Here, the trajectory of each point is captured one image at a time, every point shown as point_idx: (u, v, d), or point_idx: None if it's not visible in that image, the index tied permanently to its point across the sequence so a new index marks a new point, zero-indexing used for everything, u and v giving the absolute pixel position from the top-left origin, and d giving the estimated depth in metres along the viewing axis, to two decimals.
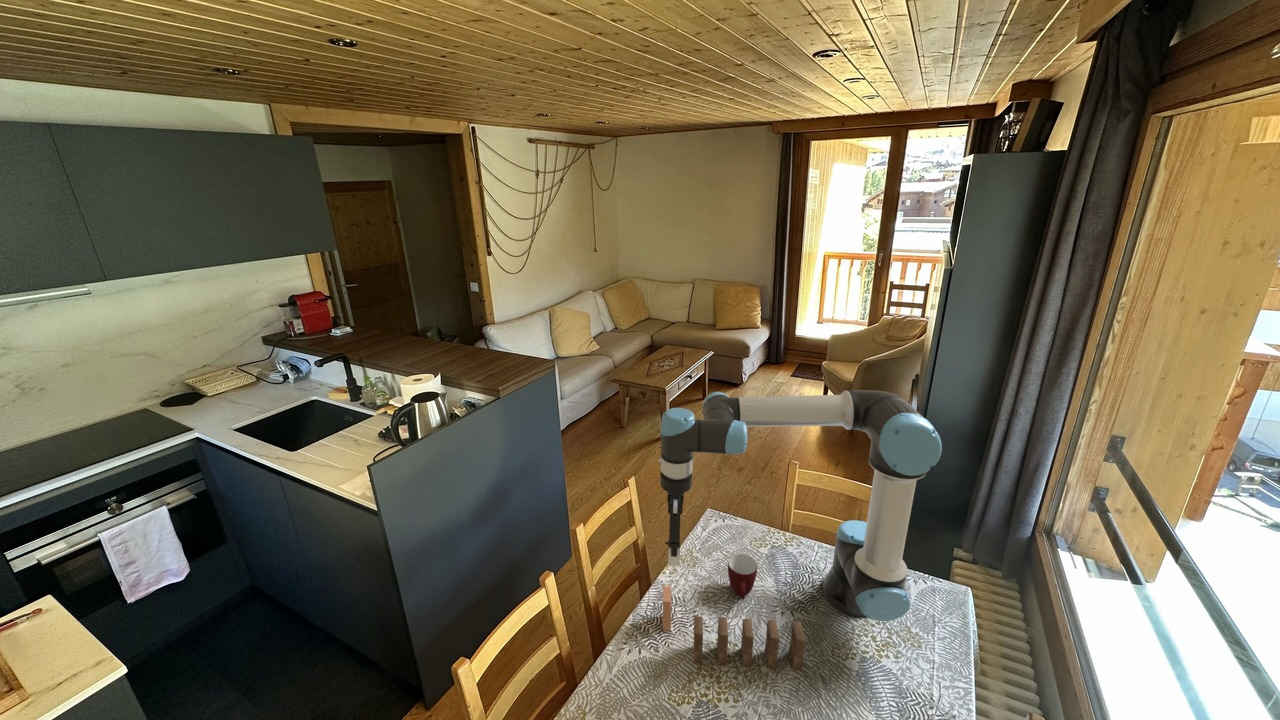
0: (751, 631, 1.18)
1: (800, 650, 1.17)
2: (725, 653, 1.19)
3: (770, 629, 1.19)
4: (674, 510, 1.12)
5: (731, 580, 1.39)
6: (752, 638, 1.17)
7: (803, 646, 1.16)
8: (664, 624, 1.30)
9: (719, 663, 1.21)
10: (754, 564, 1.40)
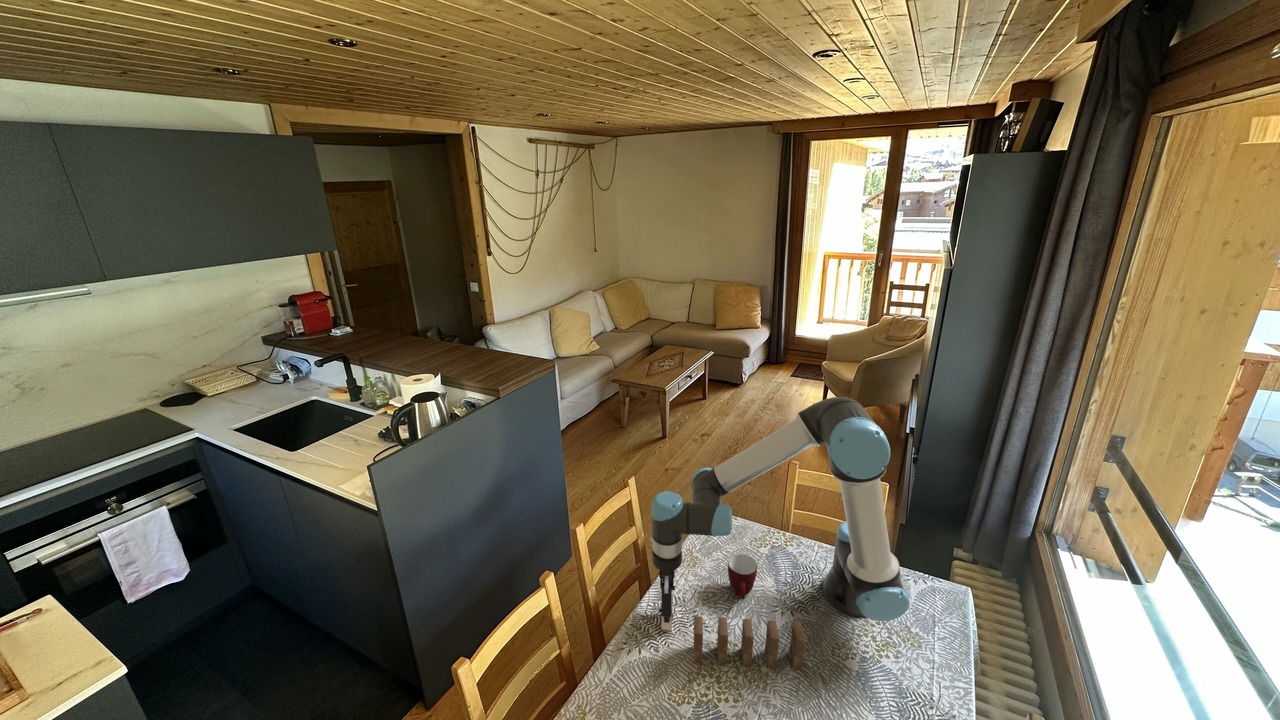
0: (751, 631, 1.18)
1: (800, 650, 1.17)
2: (725, 653, 1.19)
3: (770, 629, 1.19)
4: (665, 592, 1.21)
5: (731, 580, 1.39)
6: (752, 638, 1.17)
7: (803, 646, 1.16)
8: None
9: (719, 663, 1.21)
10: (754, 564, 1.40)
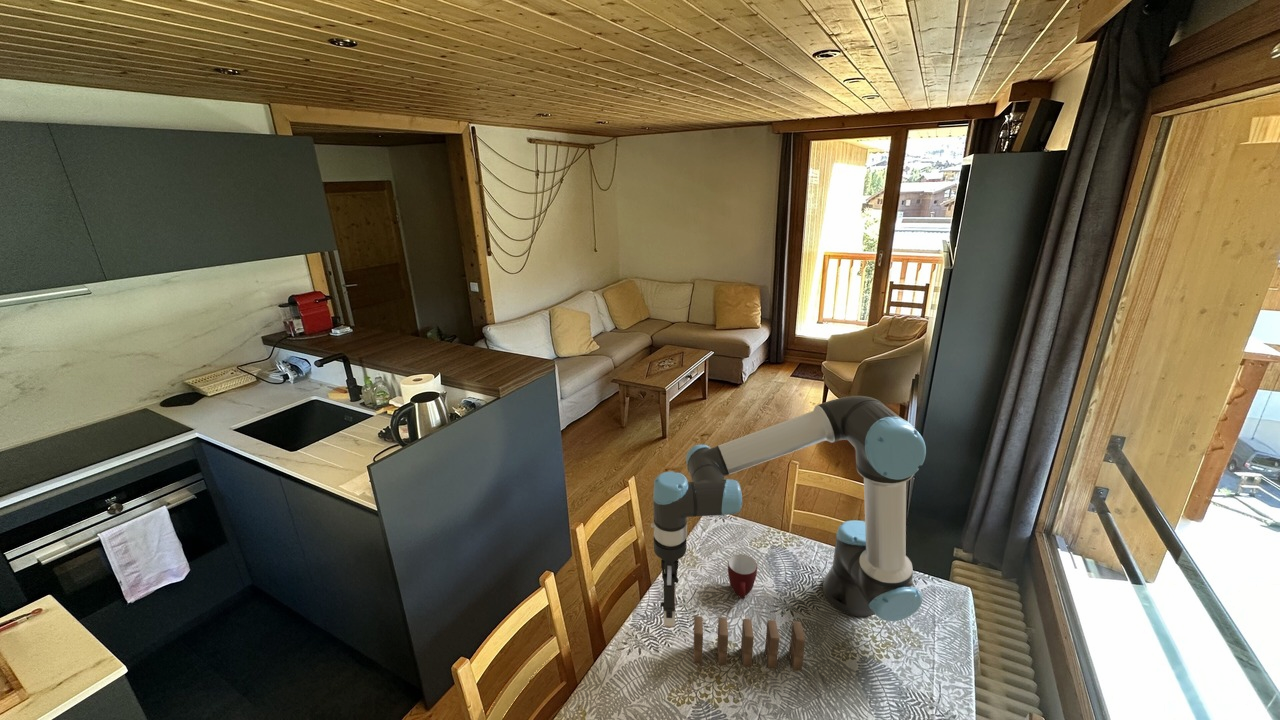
0: (751, 631, 1.18)
1: (800, 650, 1.17)
2: (725, 653, 1.19)
3: (770, 629, 1.19)
4: (667, 584, 1.09)
5: (731, 580, 1.39)
6: (752, 638, 1.17)
7: (803, 646, 1.16)
8: None
9: (719, 663, 1.21)
10: (754, 564, 1.40)
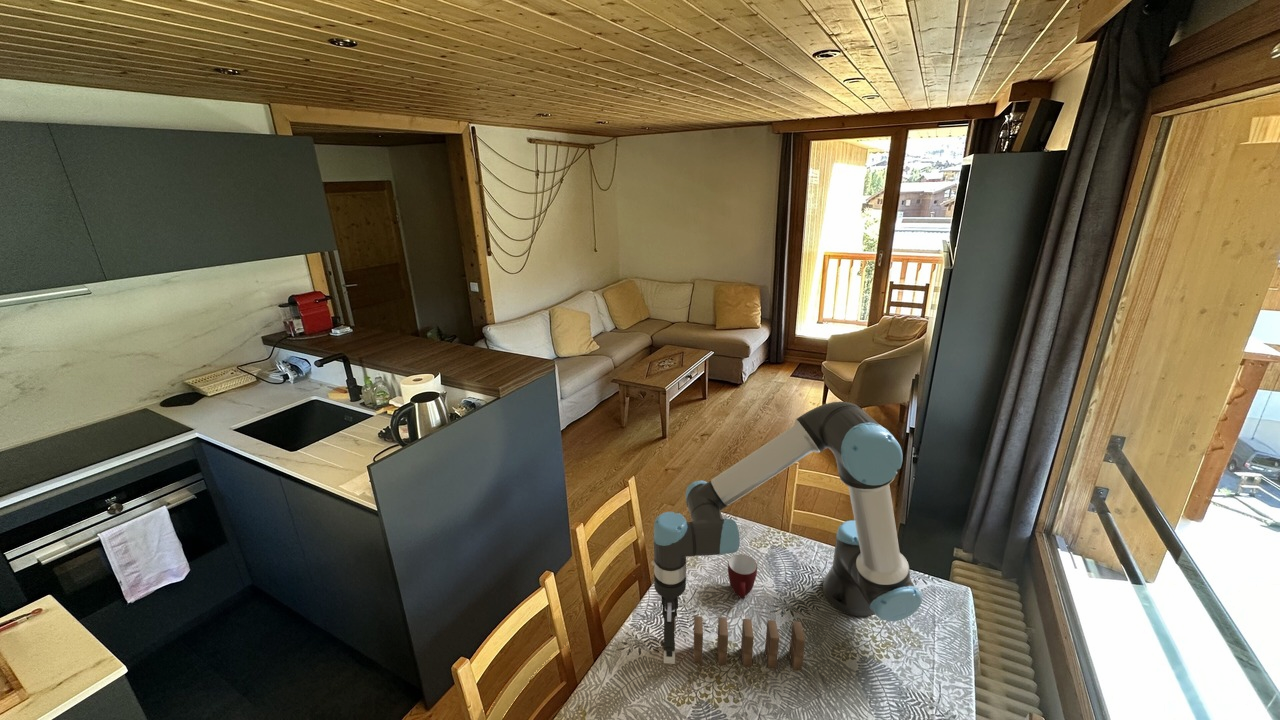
0: (751, 631, 1.18)
1: (800, 650, 1.17)
2: (725, 653, 1.19)
3: (770, 629, 1.19)
4: (668, 620, 1.12)
5: (731, 580, 1.39)
6: (752, 638, 1.17)
7: (803, 646, 1.16)
8: None
9: (719, 663, 1.21)
10: (754, 564, 1.40)
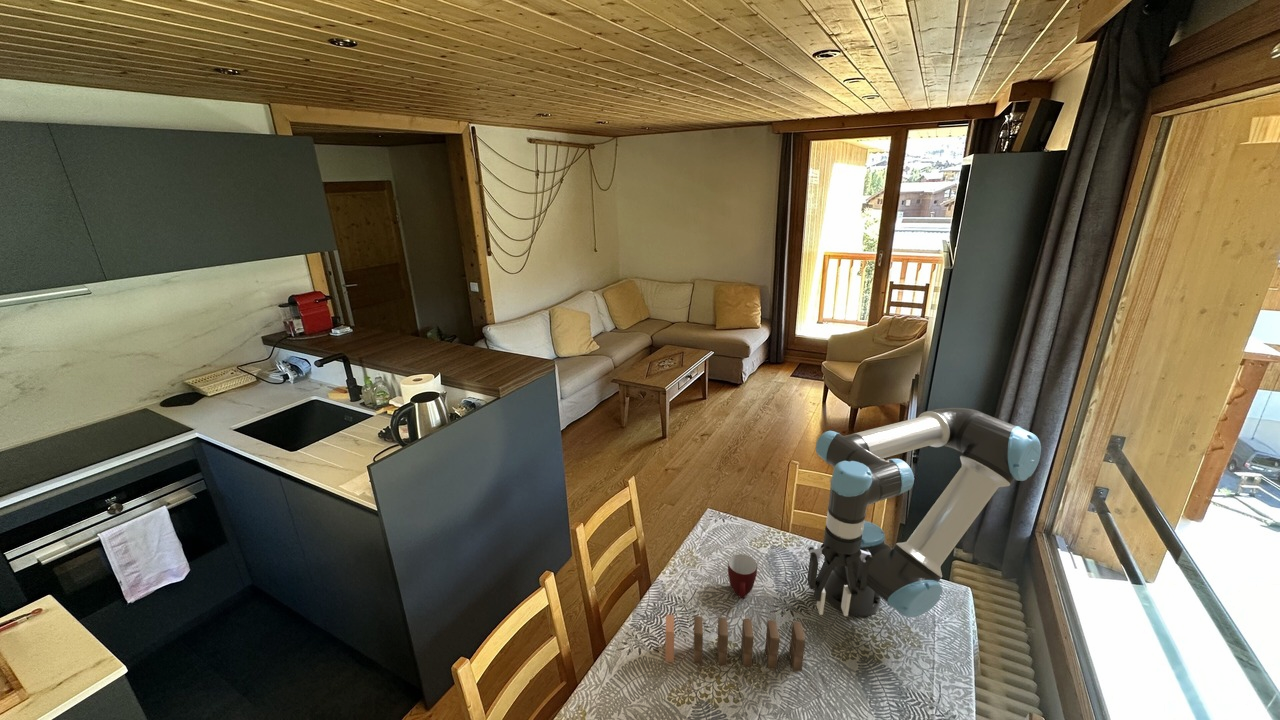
0: (751, 631, 1.18)
1: (800, 650, 1.17)
2: (725, 653, 1.19)
3: (770, 629, 1.19)
4: None
5: (731, 580, 1.39)
6: (752, 638, 1.17)
7: (803, 646, 1.16)
8: (667, 655, 1.21)
9: (719, 663, 1.21)
10: (754, 564, 1.40)
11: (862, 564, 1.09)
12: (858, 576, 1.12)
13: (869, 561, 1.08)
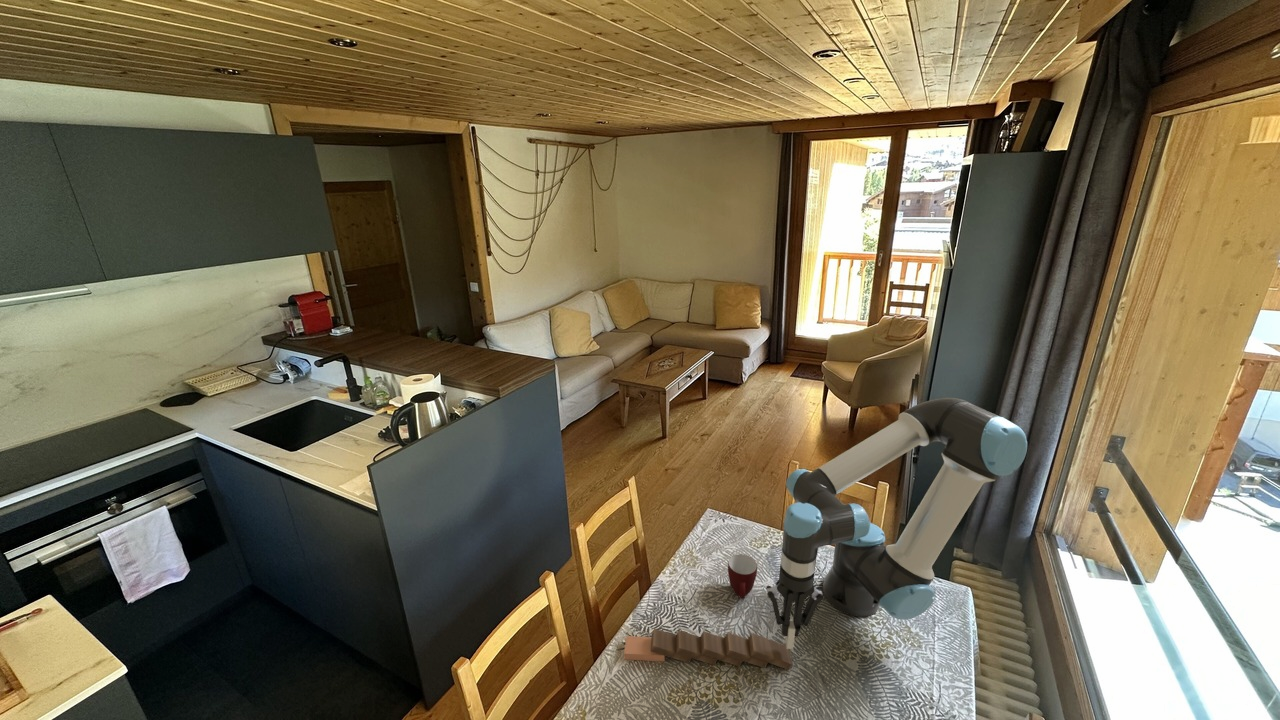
0: (703, 644, 1.21)
1: (765, 657, 1.19)
2: (701, 655, 1.20)
3: (725, 646, 1.22)
4: None
5: (731, 580, 1.39)
6: (706, 650, 1.19)
7: (761, 654, 1.18)
8: (655, 660, 1.22)
9: (712, 663, 1.21)
10: (754, 564, 1.40)
11: (812, 601, 1.14)
12: (805, 611, 1.16)
13: (819, 600, 1.13)
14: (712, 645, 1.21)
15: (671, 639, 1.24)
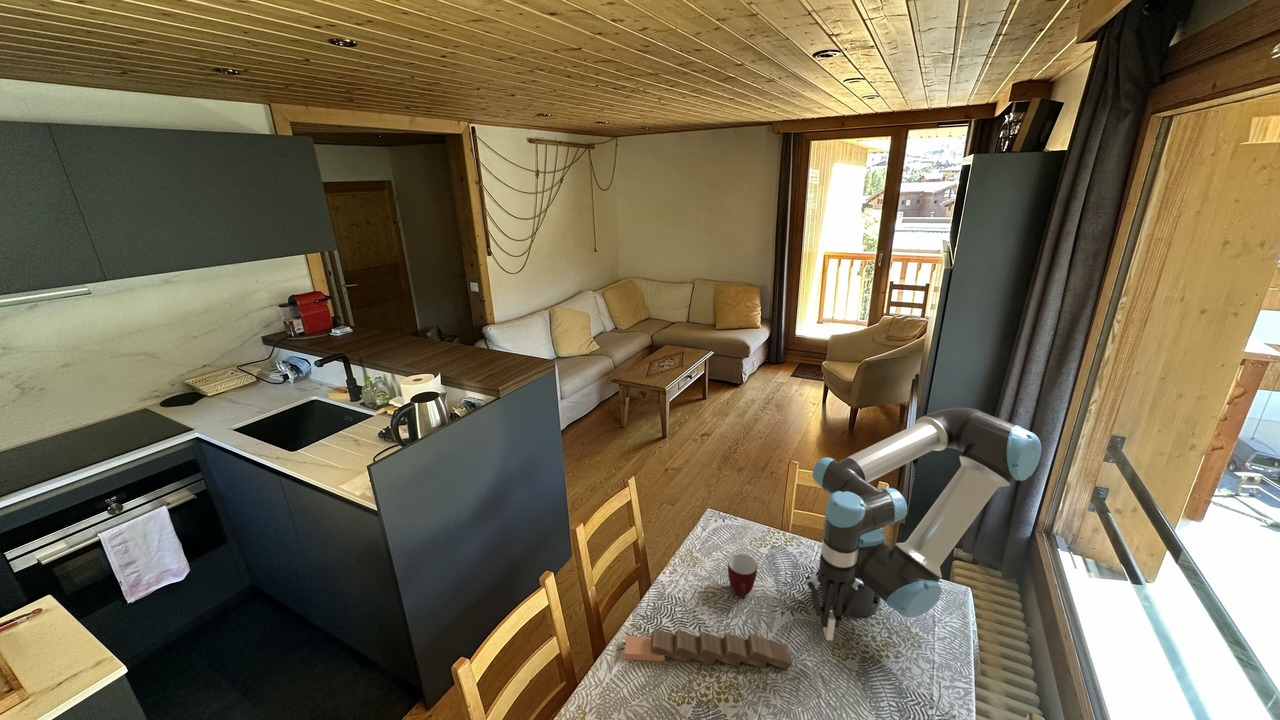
0: (701, 644, 1.21)
1: (764, 657, 1.19)
2: (699, 655, 1.20)
3: (724, 647, 1.21)
4: None
5: (731, 580, 1.39)
6: (704, 650, 1.19)
7: (760, 654, 1.18)
8: (655, 660, 1.22)
9: (710, 663, 1.21)
10: (754, 564, 1.40)
11: (852, 591, 1.13)
12: (845, 602, 1.15)
13: (861, 590, 1.11)
14: (710, 645, 1.21)
15: (671, 639, 1.24)
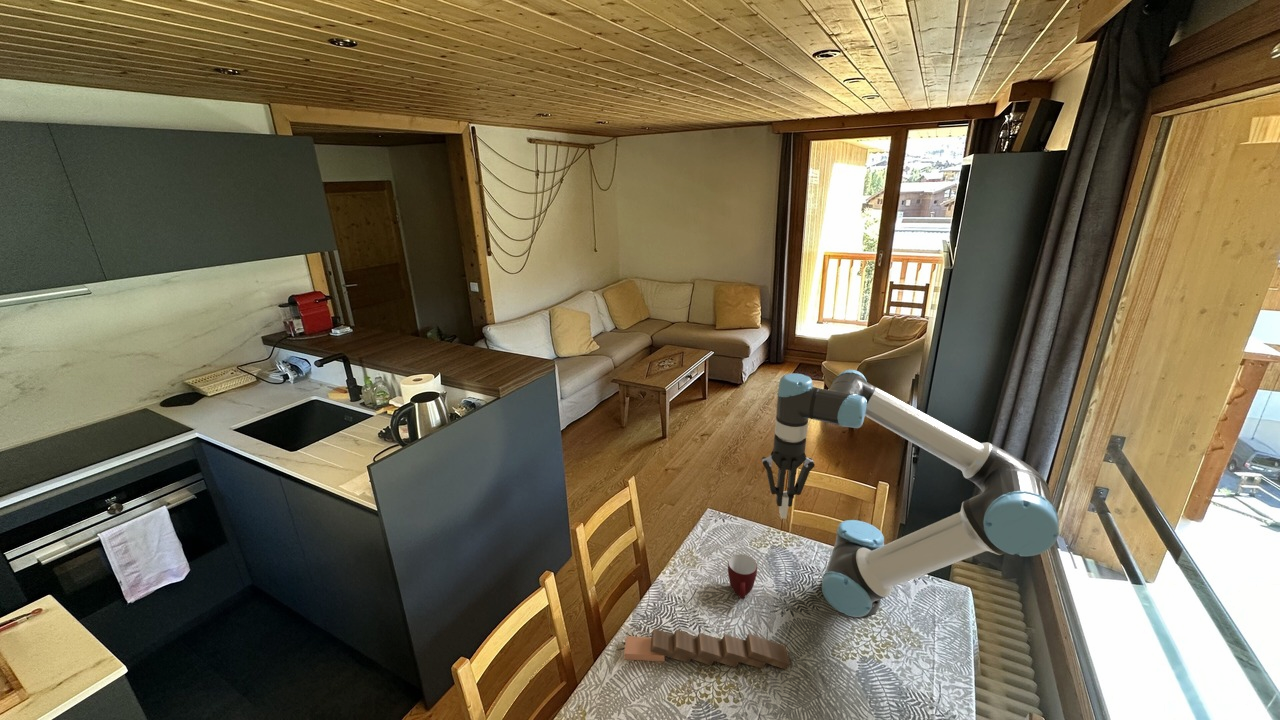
0: (699, 646, 1.20)
1: (763, 657, 1.19)
2: None
3: (723, 648, 1.21)
4: None
5: (731, 580, 1.39)
6: (702, 651, 1.19)
7: (759, 654, 1.18)
8: (655, 660, 1.22)
9: (709, 664, 1.21)
10: (754, 564, 1.40)
11: (804, 470, 1.23)
12: (797, 481, 1.25)
13: (811, 467, 1.22)
14: (709, 646, 1.20)
15: (671, 639, 1.24)
